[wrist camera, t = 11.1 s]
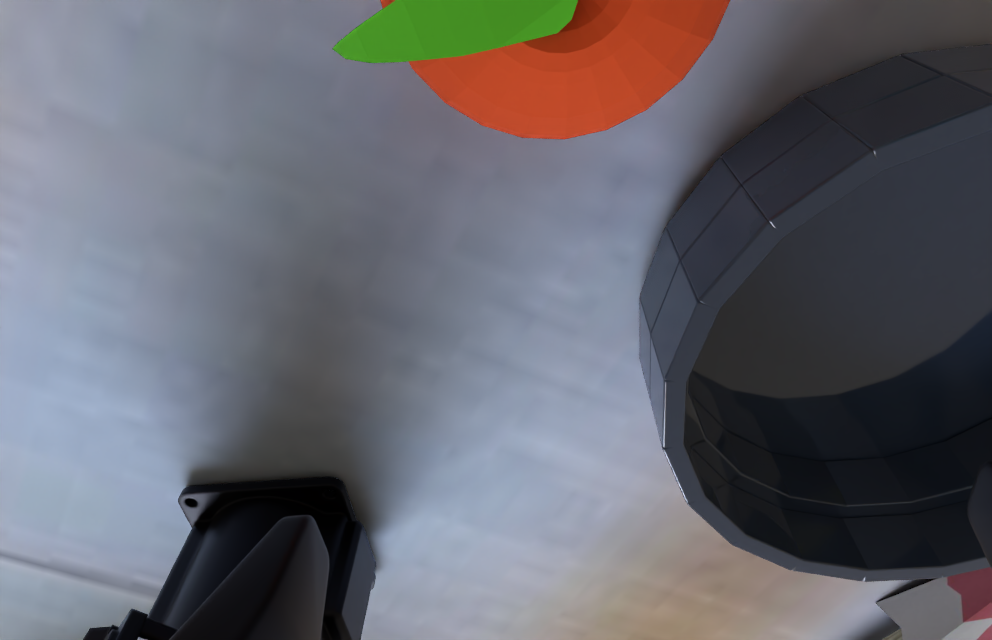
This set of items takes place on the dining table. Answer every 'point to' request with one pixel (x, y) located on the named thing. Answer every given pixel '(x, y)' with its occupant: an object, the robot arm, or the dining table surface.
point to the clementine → (541, 56)
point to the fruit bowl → (837, 325)
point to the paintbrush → (944, 609)
